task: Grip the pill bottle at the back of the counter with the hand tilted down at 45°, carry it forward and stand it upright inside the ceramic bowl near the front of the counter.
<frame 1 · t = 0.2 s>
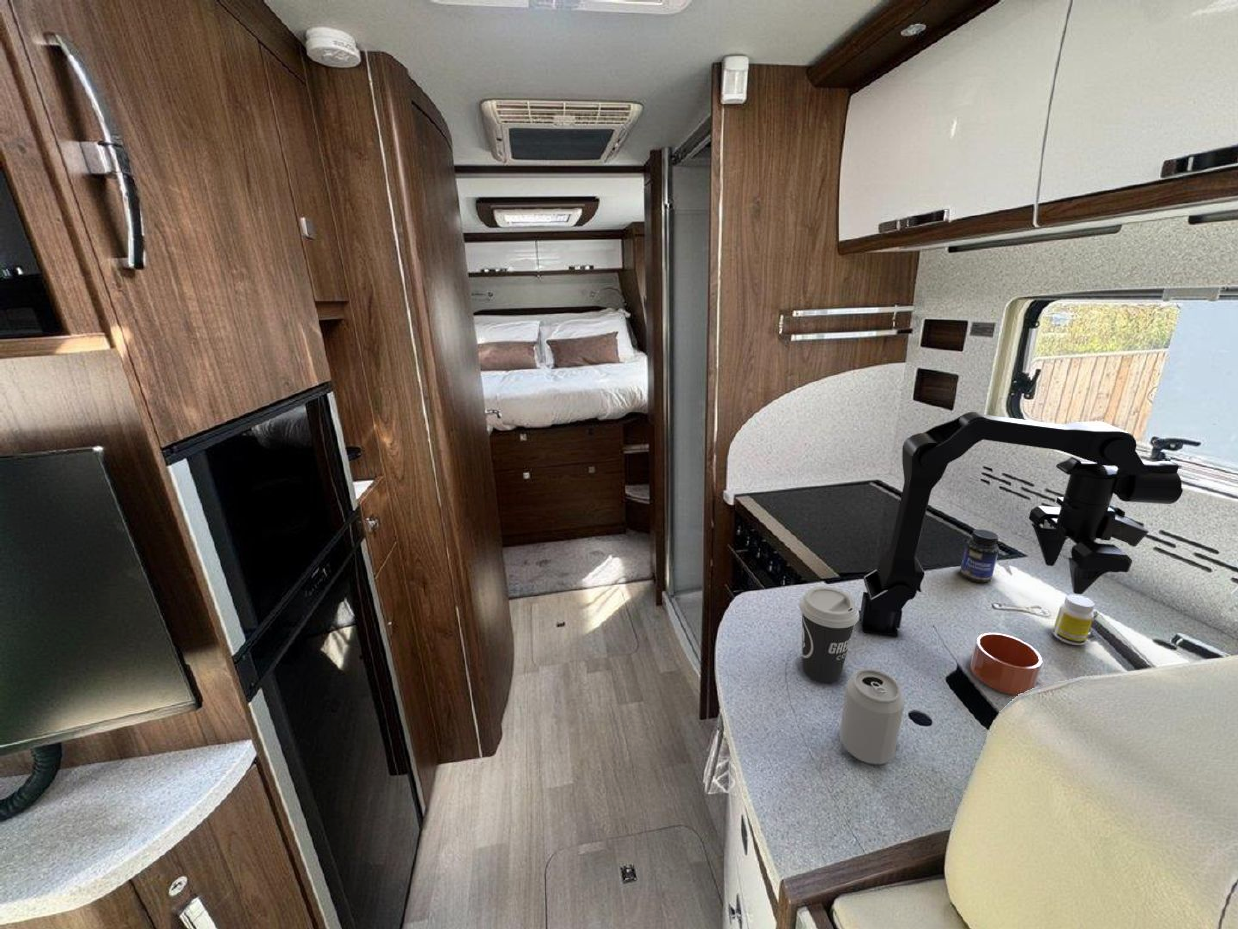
hand: (1062, 578, 89), 15 cm above the worktop, tool pointing down, fingers open, 9 cm apart
can: (865, 747, 75), on the worktop
pill bottle: (975, 576, 116), on the worktop
coffee cup: (821, 671, 90), on the worktop
ceramic bowl: (1001, 675, 87), on the worktop
supplement bottle: (1068, 638, 96), on the worktop
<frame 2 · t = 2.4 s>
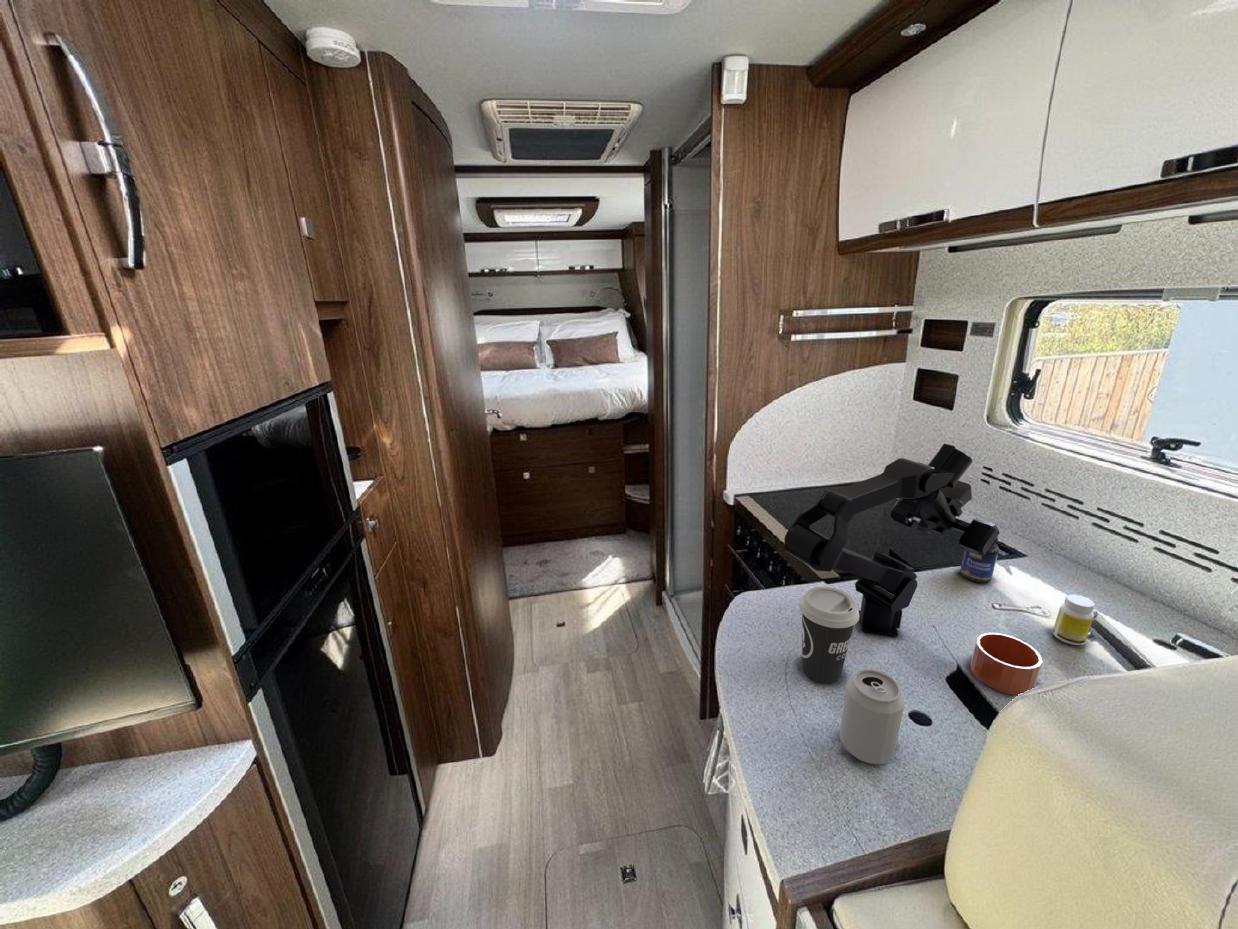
hand: (952, 541, 105), 13 cm above the worktop, tool tilted 45°, fingers open, 9 cm apart
nothing on the worktop moved.
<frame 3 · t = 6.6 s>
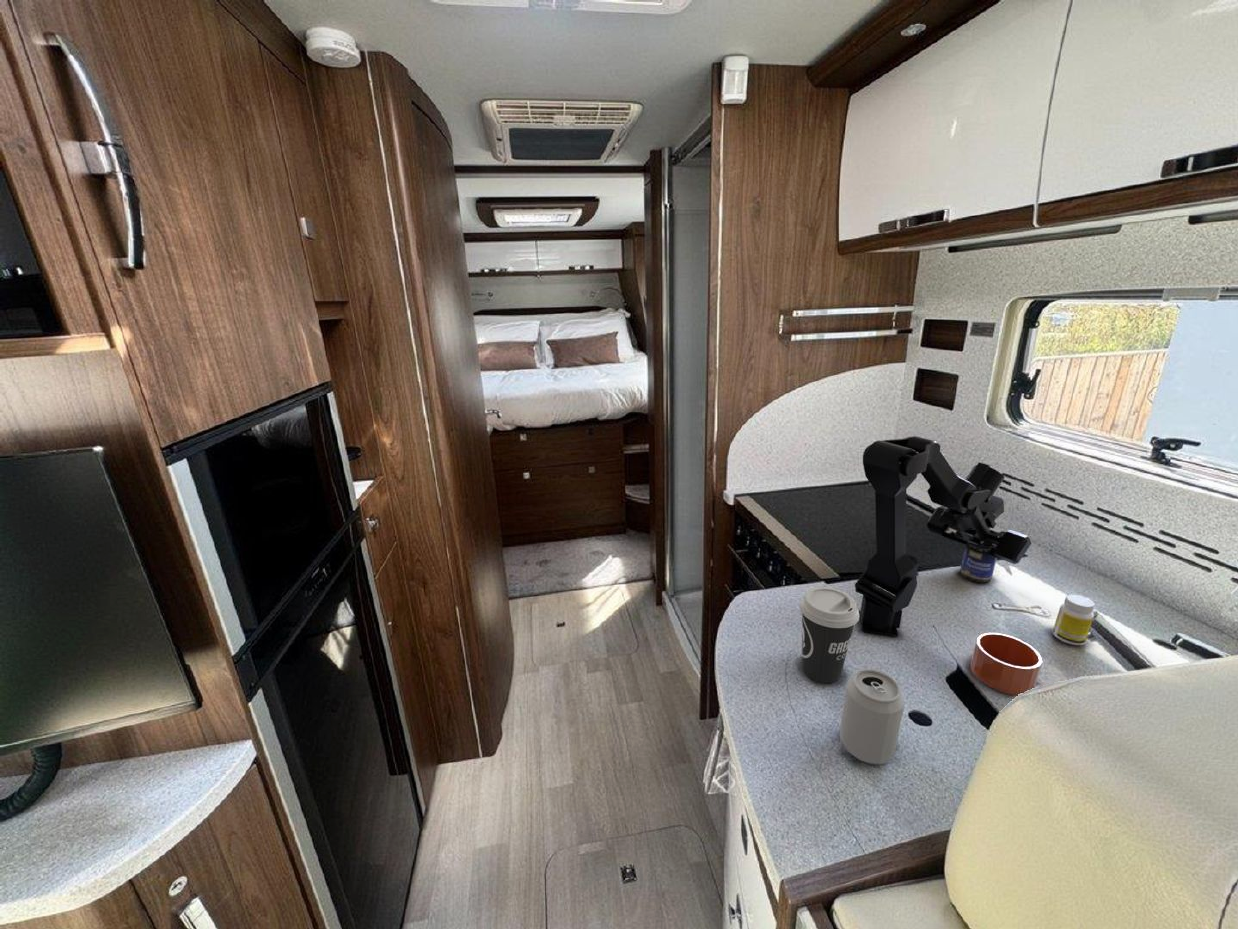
hand: (984, 549, 114), 7 cm above the worktop, tool tilted 45°, fingers closed on pill bottle, 6 cm apart
pill bottle: (975, 576, 116), on the worktop, touching gripper
everything else where it was.
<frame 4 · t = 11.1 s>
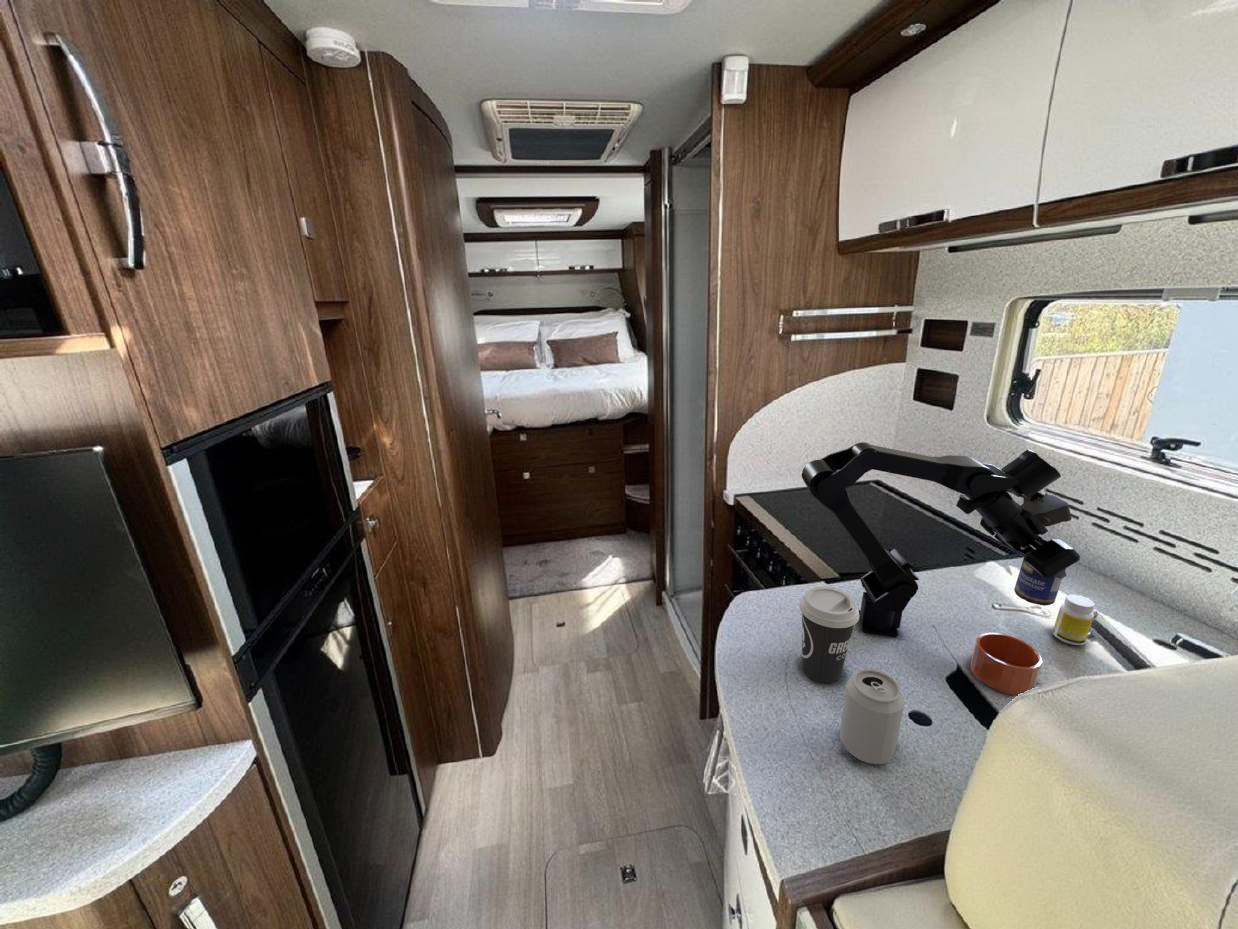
hand: (1051, 567, 93), 14 cm above the worktop, tool tilted 45°, fingers closed on pill bottle, 6 cm apart
pill bottle: (1033, 598, 95), point 8 cm above the worktop, touching gripper
everything else where it was.
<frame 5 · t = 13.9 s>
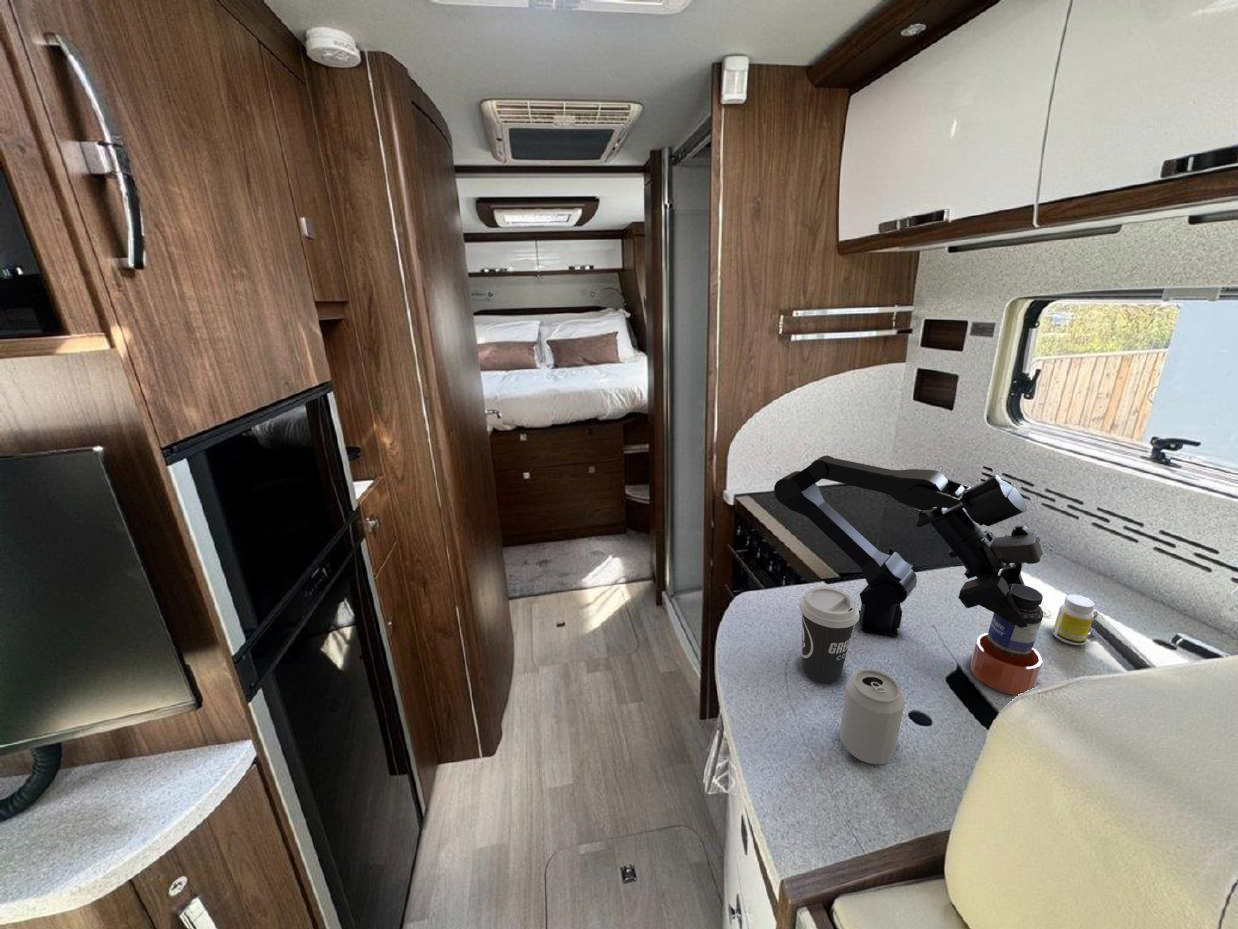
hand: (1027, 617, 82), 13 cm above the worktop, tool tilted 45°, fingers closed on pill bottle, 6 cm apart
pill bottle: (1007, 647, 85), point 6 cm above the worktop, touching gripper
everything else where it was.
when the fingers open (7 cm above the worktop, at t = 16.0 s): pill bottle stays where it is, resting on ceramic bowl.
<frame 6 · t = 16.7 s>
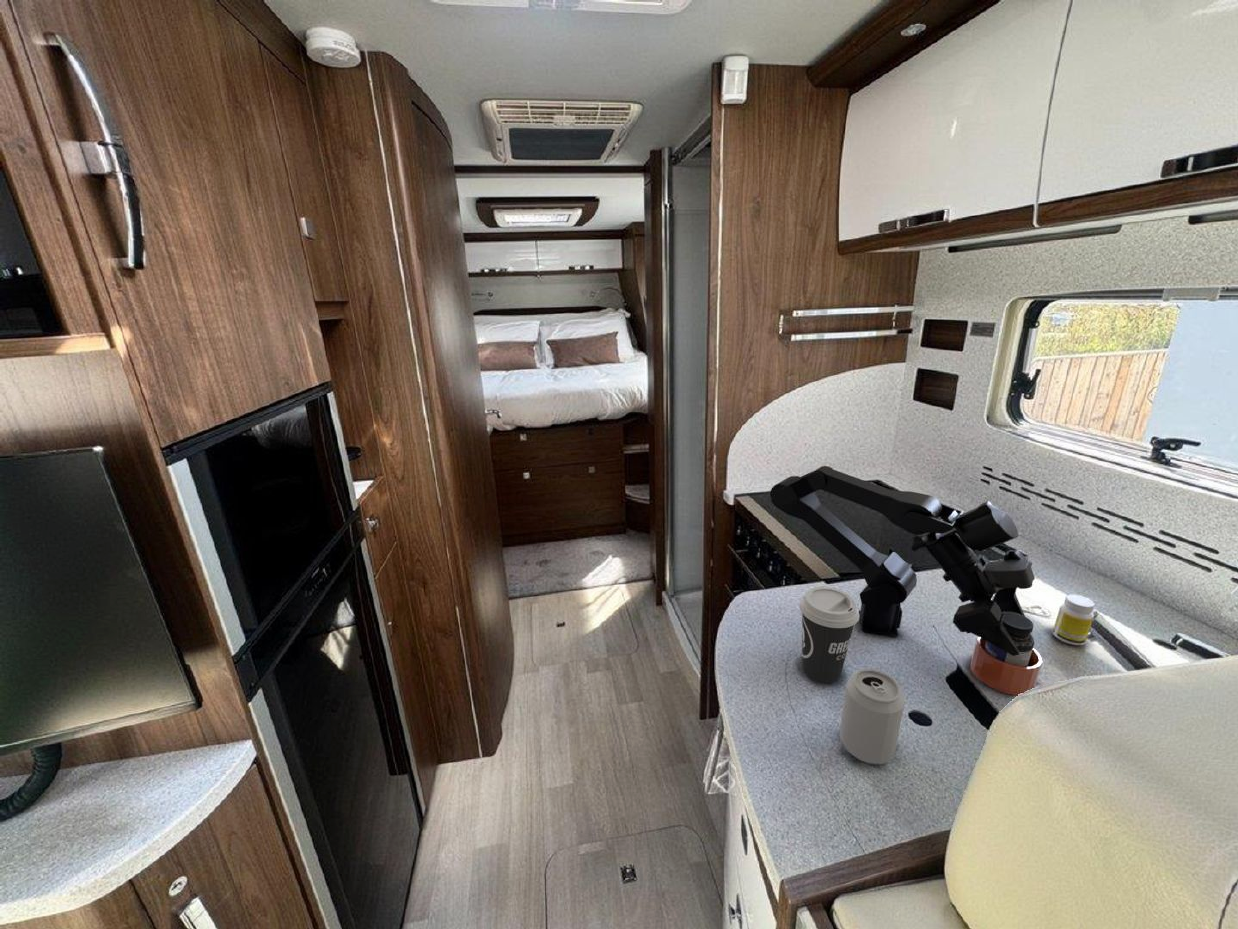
hand: (1021, 640, 84), 8 cm above the worktop, tool tilted 45°, fingers open, 9 cm apart
pill bottle: (1000, 673, 87), resting on ceramic bowl
everything else where it was.
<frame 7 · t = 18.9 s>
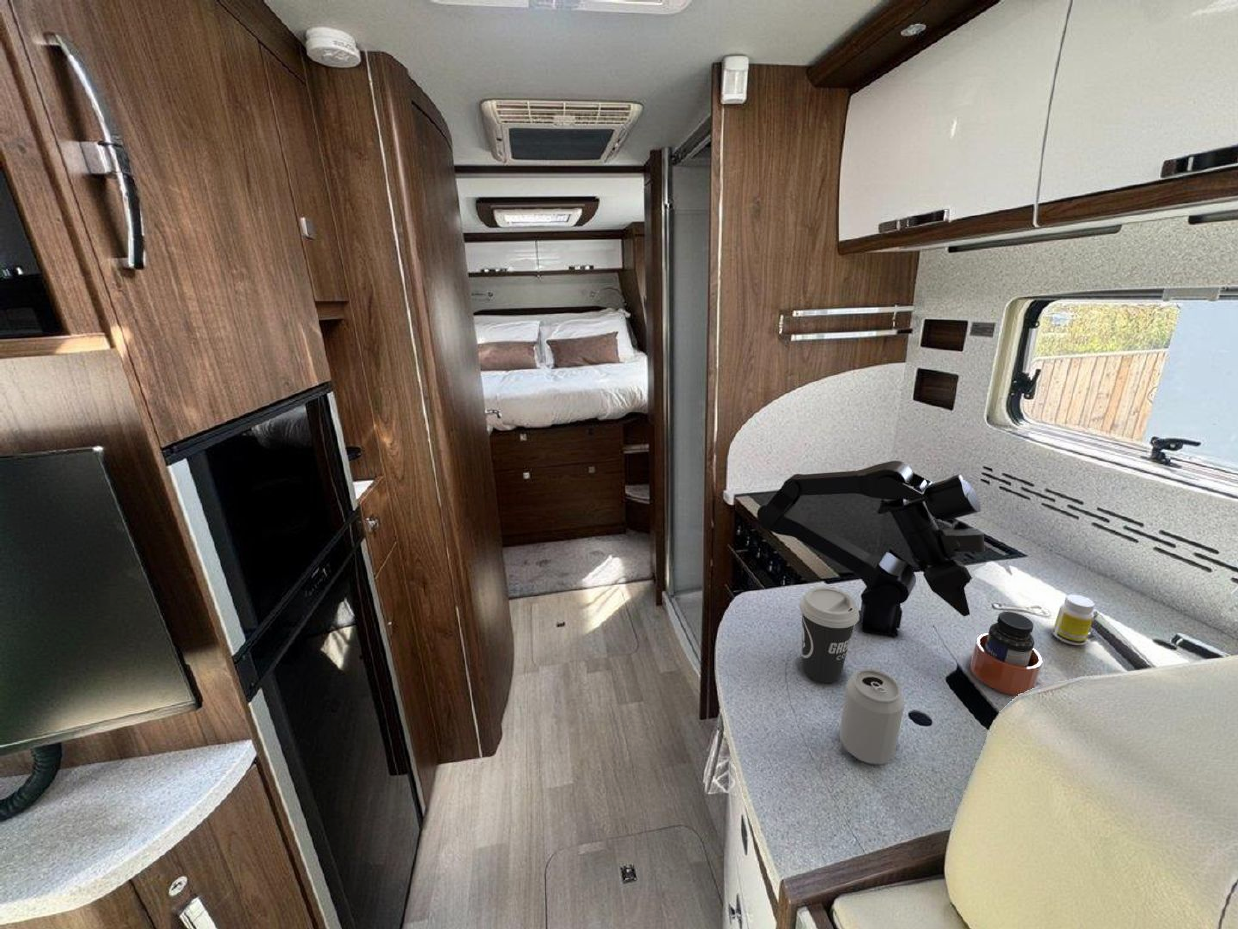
hand: (959, 605, 90), 10 cm above the worktop, tool tilted 35°, fingers open, 9 cm apart
nothing on the worktop moved.
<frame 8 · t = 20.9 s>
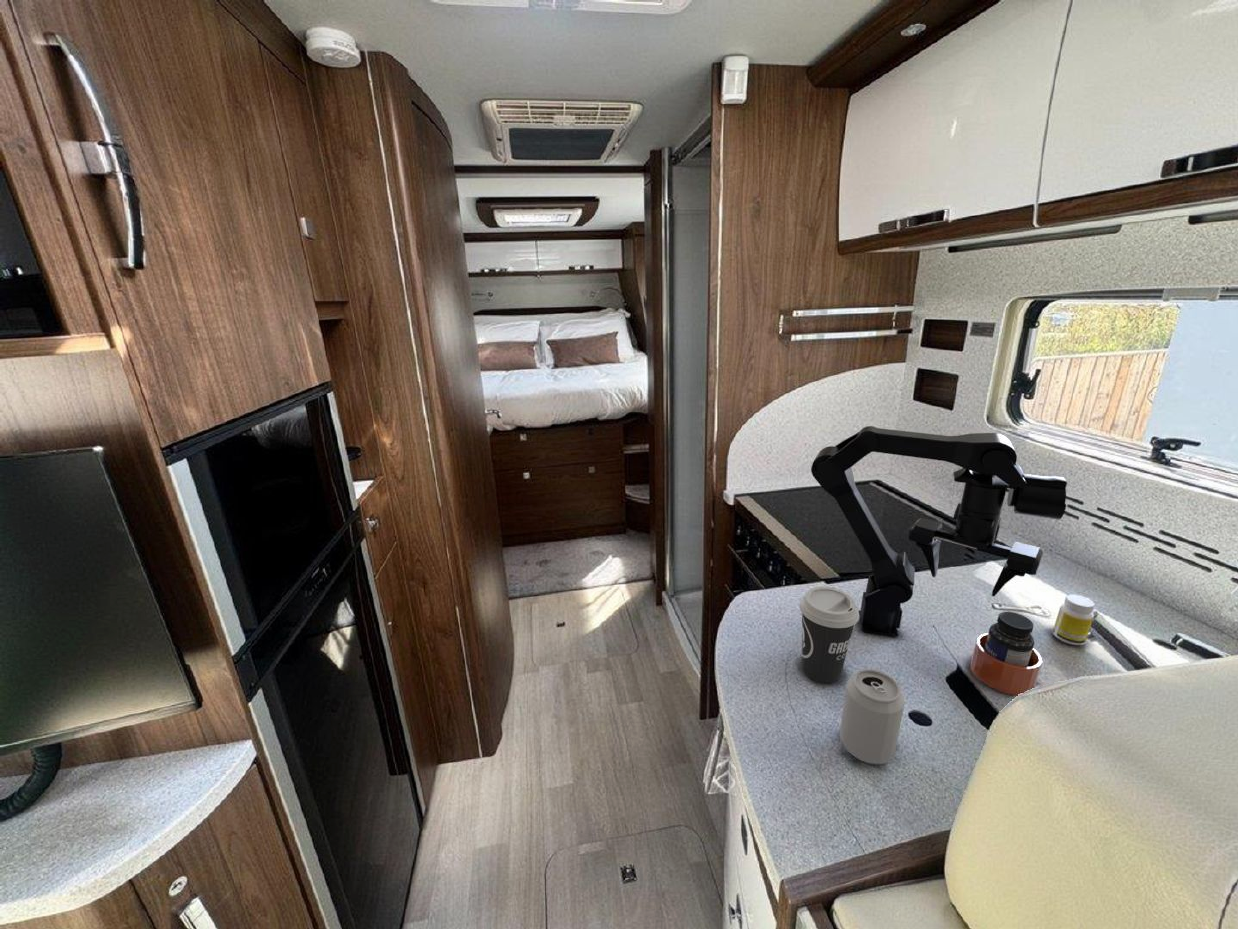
hand: (962, 585, 91), 13 cm above the worktop, tool pointing down, fingers open, 9 cm apart
nothing on the worktop moved.
at the end: pill bottle 0.1 cm off-centre in the ceramic bowl, point 0.4 cm above the ceramic bowl's base; pill bottle tilted 0°; the gripper is holding nothing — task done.
